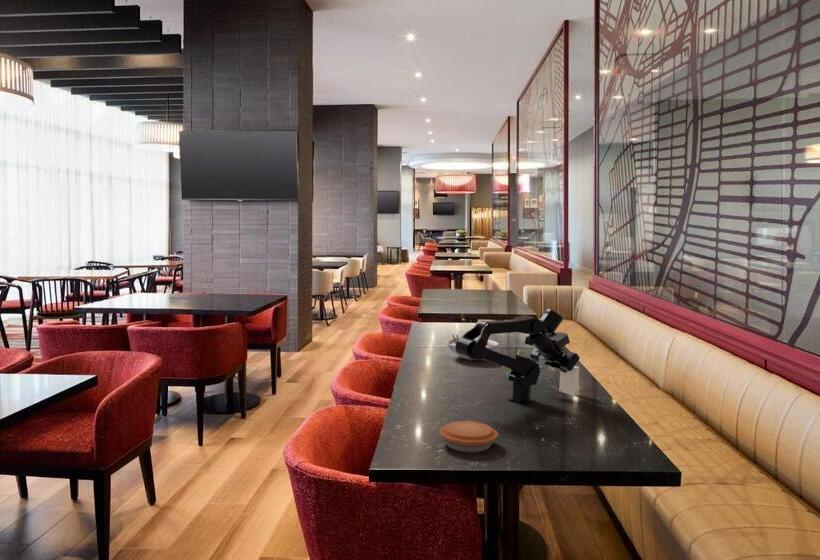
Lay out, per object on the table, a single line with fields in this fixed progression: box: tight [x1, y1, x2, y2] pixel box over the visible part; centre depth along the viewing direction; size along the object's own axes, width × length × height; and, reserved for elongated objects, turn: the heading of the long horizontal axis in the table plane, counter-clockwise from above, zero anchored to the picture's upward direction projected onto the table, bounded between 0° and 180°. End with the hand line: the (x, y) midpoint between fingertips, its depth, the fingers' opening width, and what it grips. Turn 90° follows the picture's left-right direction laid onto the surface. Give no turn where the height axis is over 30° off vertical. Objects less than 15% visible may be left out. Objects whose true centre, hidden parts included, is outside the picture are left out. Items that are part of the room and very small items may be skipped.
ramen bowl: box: [445, 334, 499, 361], centre depth 268 cm, size 25×23×8 cm
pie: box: [438, 420, 499, 454], centre depth 161 cm, size 15×16×5 cm
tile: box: [558, 365, 580, 397], centre depth 215 cm, size 2×7×10 cm, turn 31°
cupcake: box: [501, 347, 521, 380], centre depth 235 cm, size 9×8×12 cm
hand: (565, 371), depth 214 cm, fingers closed
